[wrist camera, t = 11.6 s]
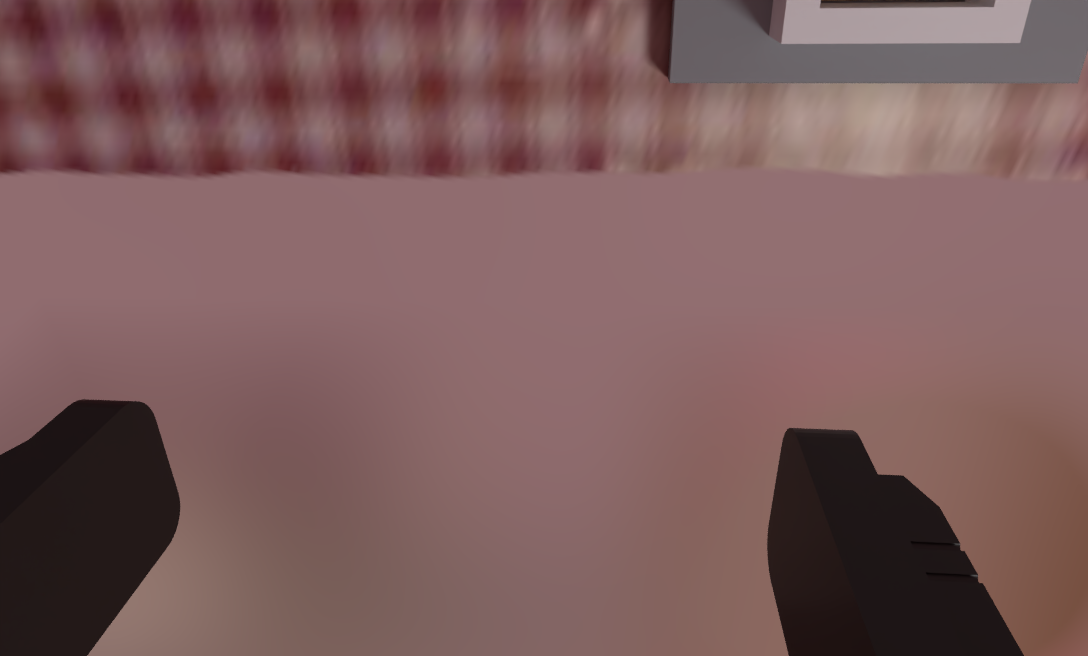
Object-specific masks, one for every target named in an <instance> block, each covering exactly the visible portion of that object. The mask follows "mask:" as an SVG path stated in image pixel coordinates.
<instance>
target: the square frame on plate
mask: <svg viewBox="0 0 1088 656" xmlns="http://www.w3.org/2000/svg"><path fill="white" fill-rule="evenodd" d="M1087 51H1088V0H673V5H672V21H671V38H670V54H669V70H668V79H669V82H670V83H1078V80H1079V77H1080V74H1081V70H1082V67H1083V64H1084V60H1085V57H1086V54H1087Z"/></svg>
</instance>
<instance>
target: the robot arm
mask: <svg viewBox="0 0 1088 656" xmlns="http://www.w3.org/2000/svg"><path fill="white" fill-rule="evenodd" d="M179 515H180V499H179V494H178V491H177V487H176V484H175V481H174V477H173V474H172V471H171V468H170V464H169V461H168V458H167V455H166V451H165V448H164V445H163V442H162V438H161V435H160V432H159V429H158V425H157V422H156V419H155V416H154V414H153V412H152V410H151V409H150V408H149V407H148V406H147V405H146V404H145V403H142V402H136V401H134V402H133V401H110V400H78V401H76V402H74V403H72V404H71V405H69V406H68V407H67V408H66V409H64V410H63V411H62V412H61V413H60V414H59V415H57V416H56V417H55V418H54V419H53V420H52V421H50V422H49V423H48V424H47V425H46V426H44V427H43V428H42V429H41V430H40V431H39V432H37V433H36V434H35V435H34V436H33V437H32V438H30V439H29V440H27V441H26V442H24V443H22V444H20V445H18V446H16V447H15V448H13V449H11V450H9V451H7V452H5V453H3V454H2V455H0V656H87V655H88V654H89V652H90V651H91V650H92V648H93V647H94V646H95V644H96V643H97V642H98V640H99V639H100V638H101V636H102V635H103V633H104V632H105V631H106V629H107V628H108V627H109V625H110V624H111V623H112V621H113V620H114V619H115V617H116V616H117V615H118V613H119V612H120V610H121V609H122V608H123V606H124V605H125V604H126V602H127V601H128V600H129V598H130V597H131V596H132V594H133V593H134V592H135V590H136V589H137V588H138V586H139V585H140V583H141V582H142V581H143V579H144V578H145V577H146V575H147V574H148V572H149V571H150V570H151V568H152V567H153V566H154V565H155V563H156V562H157V561H158V559H159V558H160V556H161V555H162V554H163V552H164V551H165V550H166V548H167V547H168V545H169V544H170V542H171V541H172V538H173V537H174V534H175V532H176V529H177V525H178V521H179ZM767 543H768V544H767V550H768V565H769V573H770V579H771V583H772V587H773V592H774V596H775V600H776V604H777V608H778V612H779V616H780V621H781V625H782V629H783V633H784V637H785V641H786V645H787V650H788V654H789V656H1024V655H1023V653H1022V651H1021V650H1020V648H1019V646H1018V644H1017V643H1016V641H1015V639H1014V638H1013V636H1012V634H1011V632H1010V631H1009V629H1008V627H1007V625H1006V623H1005V622H1004V620H1003V618H1002V616H1001V615H1000V613H999V611H998V609H997V608H996V606H995V604H994V602H993V600H992V599H991V597H990V595H989V594H988V592H987V590H986V588H985V586H984V585H983V584H982V583H979V582H978V574H977V572H976V571H975V569H974V567H973V565H972V564H971V562H970V560H969V558H968V557H967V555H966V553H965V551H961V550H960V543H959V541H958V539H957V537H956V535H955V534H954V532H953V530H952V528H951V527H950V525H949V523H948V521H947V520H946V518H945V516H944V514H943V513H942V511H941V509H940V507H939V506H937V505H936V504H935V503H934V502H933V501H932V500H931V499H929V498H928V497H927V496H926V495H925V494H923V492H921V491H920V490H919V489H918V488H917V487H916V486H914V485H913V484H912V483H911V482H910V481H909V480H908V479H906V478H905V477H904V476H899V475H898V476H897V475H878V474H877V472H876V470H875V468H874V466H873V464H872V462H871V460H870V458H869V456H868V453H867V452H866V450H865V448H864V446H863V443H862V441H861V439H860V437H859V436H858V434H857V433H856V432H854V431H853V430H827V429H801V428H789V429H787V431H786V432H785V435H784V438H783V442H782V447H781V453H780V460H779V465H778V472H777V477H776V483H775V489H774V496H773V502H772V508H771V514H770V520H769V527H768V542H767Z"/></svg>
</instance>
